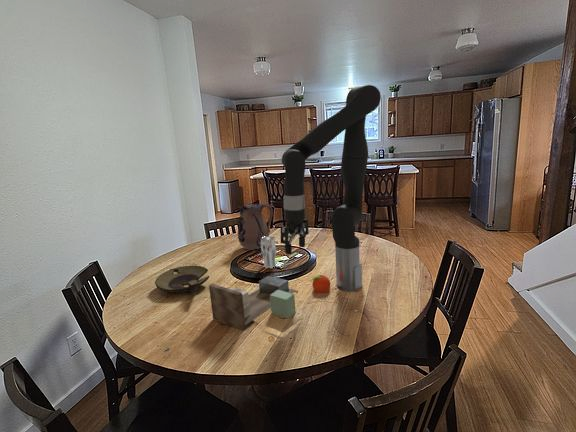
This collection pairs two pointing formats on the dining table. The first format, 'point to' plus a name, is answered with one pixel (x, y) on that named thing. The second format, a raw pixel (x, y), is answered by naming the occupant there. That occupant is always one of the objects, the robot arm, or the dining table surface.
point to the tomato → (321, 283)
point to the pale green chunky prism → (282, 303)
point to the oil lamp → (181, 279)
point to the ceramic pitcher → (253, 225)
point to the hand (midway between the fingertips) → (295, 250)
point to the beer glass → (268, 251)
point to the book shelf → (238, 305)
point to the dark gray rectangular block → (273, 285)
